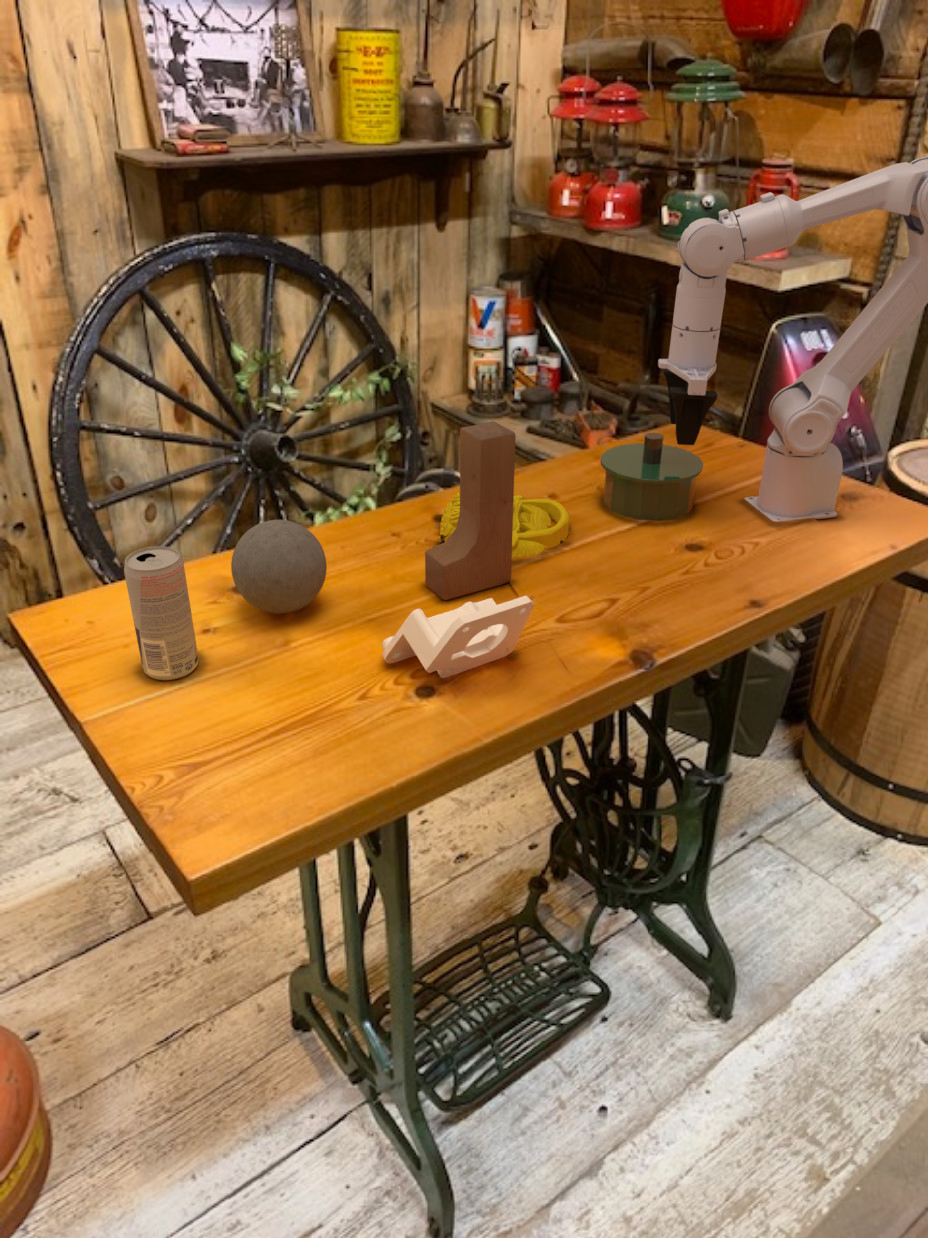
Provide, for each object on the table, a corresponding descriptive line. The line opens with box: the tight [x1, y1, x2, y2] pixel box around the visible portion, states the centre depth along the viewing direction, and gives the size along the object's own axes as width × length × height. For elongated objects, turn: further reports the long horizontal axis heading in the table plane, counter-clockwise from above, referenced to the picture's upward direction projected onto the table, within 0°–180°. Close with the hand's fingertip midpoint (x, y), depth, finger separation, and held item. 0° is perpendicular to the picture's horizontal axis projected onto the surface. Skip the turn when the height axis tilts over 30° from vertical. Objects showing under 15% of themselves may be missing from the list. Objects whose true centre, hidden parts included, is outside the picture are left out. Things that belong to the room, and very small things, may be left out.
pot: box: [603, 470, 697, 522], centre depth 130 cm, size 12×12×6 cm
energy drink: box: [123, 545, 200, 681], centre depth 94 cm, size 5×5×12 cm
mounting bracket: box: [381, 595, 535, 679], centre depth 95 cm, size 12×6×11 cm, turn 123°
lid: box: [599, 432, 704, 484], centre depth 128 cm, size 13×13×4 cm
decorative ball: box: [230, 519, 327, 615], centre depth 105 cm, size 10×10×10 cm
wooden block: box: [424, 421, 517, 601], centre depth 108 cm, size 9×4×18 cm, turn 120°
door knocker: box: [439, 492, 570, 559], centre depth 123 cm, size 17×16×4 cm
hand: (682, 433), depth 126 cm, fingers open, 7 cm apart
